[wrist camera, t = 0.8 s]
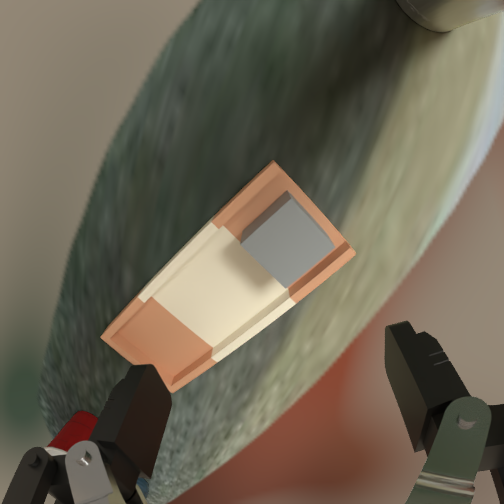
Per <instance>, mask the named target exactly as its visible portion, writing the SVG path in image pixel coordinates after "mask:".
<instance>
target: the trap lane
mask: <svg viewBox="0 0 504 504" xmlns="http://www.w3.org/2000/svg"><path fill="white" fill-rule="evenodd" d="M287 190H288V191H289V192H290V193H291V194H292V196H293V197H294V198H295V199H296V200H297V201H298V202H299V203H300V204H301V205H302V206H303V207H304V208H305V210H306V211H307V212H308V213H309V214H310V215H311V216H312V217H313V218H314V219H315V221H316V222H317V223H318V224H319V225H320V226H321V227H322V228H323V230H324V231H325V232H326V233H327V234H328V236H329V238H330V239H331V241H332V242H333V244H334V246H335V248H334V249H333V250H332V251H331V252H329V253H328V254H327V255H326V256H325V257H323V258H322V259H321V260H320V261H319V262H318V263H316V264H315V265H314V266H313V267H312V268H310V269H309V270H308V271H307V272H306V273H304V274H303V275H302V276H301V277H300V278H298V279H297V280H296V281H295V282H293V283H292V284H291V285H290V286H289V287H287V288H286V289H285V288H284V287H283V286H282V285H281V284H280V283H279V282H278V281H277V280H276V279H275V278H274V277H273V276H272V275H271V274H270V273H269V272H268V271H267V270H266V269H265V268H264V267H263V266H261V265H260V264H259V263H258V262H257V261H256V260H255V259H254V258H253V257H252V256H251V255H250V254H249V253H248V252H247V251H246V250H245V249H244V248H243V247H242V246H241V245H240V242H241V236H242V231H243V230H244V229H245V228H246V227H247V226H248V225H249V224H250V223H252V222H253V221H254V220H255V219H256V218H257V217H258V216H259V215H260V214H261V213H262V212H264V211H265V210H266V209H267V208H268V207H269V206H270V205H271V204H272V203H273V202H274V201H276V200H277V199H278V198H279V197H280V196H281V195H282V194H283V193H284V192H285V191H287ZM355 255H356V253H355V251H354V250H353V248H352V247H351V246H350V244H349V243H348V242H347V241H346V240H345V239H344V237H343V236H342V235H341V234H340V233H339V232H338V230H337V229H336V228H335V227H334V226H333V225H332V223H331V222H330V221H329V220H328V219H327V218H326V217H325V215H324V214H323V213H322V212H321V211H320V210H319V209H318V208H317V206H316V205H315V204H314V203H313V202H312V201H311V200H310V199H309V198H308V196H307V195H306V194H305V193H304V192H303V191H302V190H301V189H300V188H299V187H298V186H297V184H296V183H295V182H294V181H293V180H292V179H291V178H290V177H289V176H288V175H287V174H286V173H285V172H284V171H283V169H282V168H281V167H280V166H279V165H278V164H277V163H276V162H275V161H274V160H272V161H271V162H270V163H269V164H268V165H267V166H266V167H265V168H264V169H263V170H261V171H260V172H259V173H258V174H257V175H256V176H255V177H254V178H253V179H252V180H251V181H250V182H249V183H248V184H247V185H245V186H244V187H243V188H242V189H241V190H240V191H239V192H238V193H237V194H236V195H235V196H234V197H233V198H232V199H231V200H230V201H229V202H228V203H227V204H226V205H225V206H224V207H223V208H221V209H220V210H219V211H218V212H217V213H216V214H215V215H214V216H213V217H212V218H211V219H210V220H209V221H208V222H207V223H206V224H205V225H204V226H203V227H202V228H201V229H200V230H199V231H198V232H197V233H196V234H195V235H194V236H193V237H192V238H191V239H190V240H189V241H188V242H187V243H186V244H185V245H184V246H183V247H182V248H181V249H180V250H179V251H178V252H177V253H176V254H175V255H174V256H173V257H172V258H171V259H170V260H169V262H168V263H167V264H166V265H165V266H164V267H163V268H162V269H161V270H160V271H159V272H158V273H157V274H156V275H155V276H154V277H153V278H152V279H151V280H150V281H149V282H148V283H147V284H146V286H145V287H144V288H143V289H142V290H141V291H140V292H139V293H138V294H137V295H136V296H135V297H134V298H133V299H132V300H131V302H130V303H129V304H128V305H127V306H126V307H125V308H124V309H123V310H122V311H121V312H120V314H119V315H118V316H117V317H116V318H115V319H114V320H113V321H112V322H111V323H110V325H109V326H108V327H107V328H106V330H105V331H104V333H103V334H102V336H101V337H100V338H101V339H103V340H104V341H105V342H106V343H107V344H108V345H110V346H111V347H112V348H113V349H115V350H116V351H117V352H118V353H119V354H121V355H122V356H123V357H124V358H126V359H127V360H128V361H129V362H131V363H132V364H133V365H140V364H153V365H154V366H155V368H156V369H157V371H158V373H159V375H160V376H161V378H162V380H163V382H164V383H165V385H166V387H167V389H168V390H169V391H170V392H171V393H174V392H175V391H177V390H178V389H180V388H181V387H183V386H184V385H186V384H187V383H188V382H190V381H191V380H193V379H194V378H196V377H197V376H199V375H200V374H202V373H203V372H204V371H206V370H207V369H209V368H210V367H212V366H213V365H214V364H216V363H217V362H219V361H220V360H221V359H223V358H224V357H226V356H227V355H228V354H230V353H231V352H233V351H234V350H235V349H237V348H238V347H239V346H241V345H242V344H244V343H245V342H246V341H248V340H249V339H250V338H252V337H253V336H254V335H256V334H257V333H258V332H260V331H261V330H262V329H264V328H265V327H266V326H268V325H269V324H270V323H272V322H273V321H274V320H276V319H277V318H278V317H279V316H281V315H282V314H283V313H285V312H286V311H287V310H288V309H290V308H291V307H292V306H294V305H295V304H296V303H297V302H299V301H300V300H301V299H302V298H304V297H305V296H306V295H307V294H309V293H310V292H311V291H312V290H314V289H315V288H316V287H317V286H319V285H320V284H321V283H322V282H324V281H325V280H326V279H327V278H328V277H330V276H331V275H332V274H333V273H335V272H336V271H337V270H338V269H339V268H341V267H342V266H343V265H344V264H345V263H346V262H348V261H349V260H350V259H351V258H352V257H354V256H355Z"/></svg>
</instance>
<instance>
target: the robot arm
mask: <svg viewBox="0 0 504 504" xmlns="http://www.w3.org/2000/svg"><path fill="white" fill-rule="evenodd" d="M396 1H397V2H398V4H399V6H400V7H401V8H402V9H403V11H404V12H405V13H406V14H407V15H408V16H409V17H410V18H411V19H412V20H414V21H415V22H416V23H418V24H419V25H421V26H423V27H425V28H427V29H429V30H432V31H436V32H448V31H451V30H453V29H456V28H458V27H461V26H463V25H466V24H469V23H471V22H474V21H477V20H479V19H482V18H485V17H488V16H490V15H493V14H496V13H499V12H502V11H504V0H396ZM385 368H386V373H387V376H388V379H389V382H390V384H391V387H392V390H393V392H394V395H395V398H396V400H397V403H398V406H399V408H400V411H401V414H402V417H403V419H404V422H405V425H406V428H407V431H408V434H409V437H410V440H411V442H412V446H413V449H414V452H418V451H421V450H424V449H425V451H426V454H427V460H426V463H425V464H424V466H423V469H422V471H421V473H420V475H419V477H418V479H417V481H416V483H415V485H414V487H413V489H412V491H411V493H410V495H409V497H408V499H407V501H406V503H405V504H471V502H472V499H473V496H474V492H475V487H473V485H474V480H475V477H476V474H477V472H478V471H485V470H490V472H491V475H492V478H493V481H494V484H495V487H496V491H497V494H498V498H499V501H500V504H504V404H500V405H487V404H486V403H485V402H484V401H483V400H481V399H479V398H476V397H472V396H471V395H470V394H469V392H468V391H467V389H466V387H465V385H464V384H463V382H462V380H461V379H460V377H459V375H458V373H457V372H456V370H455V368H454V367H453V365H452V363H451V362H450V361H449V359H448V357H447V355H446V354H445V352H443V349H442V347H441V346H440V344H439V343H438V341H437V339H435V338H434V337H432V336H431V335H429V334H428V333H426V332H421V333H418V334H416V332H415V331H414V329H413V327H412V326H411V324H410V323H409V322H408V321H404V322H400V323H397V324H392V325H388V326H386V328H385ZM171 407H172V399H171V395H170V392H169V390H168V389H167V387H166V385H165V383H164V382H163V380H162V378H161V376H160V375H159V373H158V371H157V369H156V368H155V366H154V365H153V364H140V365H132V366H131V367H130V369H129V371H128V373H127V375H126V377H125V379H122V380H121V381H120V382H119V383H118V384H117V385H116V386H115V387H114V388H113V390H112V392H111V394H110V396H109V398H108V401H107V402H106V404H105V406H104V410H102V412H101V414H100V416H99V418H98V420H97V423H96V425H95V427H94V429H93V431H92V433H91V435H90V437H89V439H88V441H81V442H78V443H76V444H75V445H73V446H72V447H71V448H70V449H69V450H68V452H67V454H64V455H56V456H51V455H50V454H49V453H48V452H47V451H46V450H45V449H44V448H41V447H34V448H32V449H30V450H29V451H27V452H26V453H25V455H24V456H23V458H22V460H21V462H20V464H19V466H18V468H17V470H16V472H15V475H14V477H13V479H12V482H11V483H10V486H9V488H8V490H7V493H6V495H5V498H4V500H3V502H2V504H44V502H45V499H46V496H47V494H48V493H49V494H50V495H51V496H53V497H54V498H55V499H56V501H55V503H54V504H148V503H147V501H146V499H145V497H144V495H143V493H142V491H141V489H140V487H139V486H138V485H137V480H138V478H146V479H151V476H152V472H153V469H154V465H155V462H156V458H157V455H158V451H159V448H160V444H161V441H162V438H163V434H164V431H165V427H166V424H167V421H168V417H169V414H170V411H171Z"/></svg>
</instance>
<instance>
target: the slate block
mask: <svg viewBox="0 0 504 504" xmlns="http://www.w3.org/2000/svg"><path fill="white" fill-rule="evenodd" d="M240 245H241V246H242V247H243V248H244V249H245V250H246V251H247V252H248V253H249V254H250V255H251V256H252V257H253V258H254V259H255V260H256V261H257V262H258V263H259V264H260V265H261V266H263V267H264V268H265V269H266V270H267V271H268V272H269V273H270V274H271V275H272V276H273V277H274V278H275V279H276V280H277V281H278V282H279V283H280V284H281V285H282V286H283V287H284V288H285V289H286V288H287V287H289V286H290V285H291V284H292V283H293V282H295V281H296V280H297V279H298V278H300V277H301V276H302V275H303V274H304V273H306V272H307V271H308V270H309V269H310V268H312V267H313V266H314V265H315V264H316V263H318V262H319V261H320V260H321V259H322V258H323V257H325V256H326V255H327V254H328V253H329V252H331V251H332V250H333V249H334V248H335V246H334V244H333V242H332V241H331V239H330V238H329V236H328V234H327V233H326V232H325V231H324V230H323V228H322V227H321V226H320V225H319V224H318V223H317V222H316V221H315V219H314V218H313V217H312V216H311V215H310V214H309V213H308V212H307V211H306V210H305V208H304V207H303V206H302V205H301V204H300V203H299V202H298V201H297V200H296V199H295V198H294V197H293V196H292V194H291V193H290V192H289V191H288V190H287V191H285V192H284V193H283V194H282V195H281V196H280V197H279V198H278V199H277V200H276V201H274V202H273V203H272V204H271V205H270V206H269V207H268V208H267V209H266V210H265V211H264V212H262V213H261V214H260V215H259V216H258V217H257V218H256V219H255V220H254V221H253V222H252V223H250V224H249V225H248V226H247V227H246V228H245V229H244V230H243V231H242V236H241V242H240Z"/></svg>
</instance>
